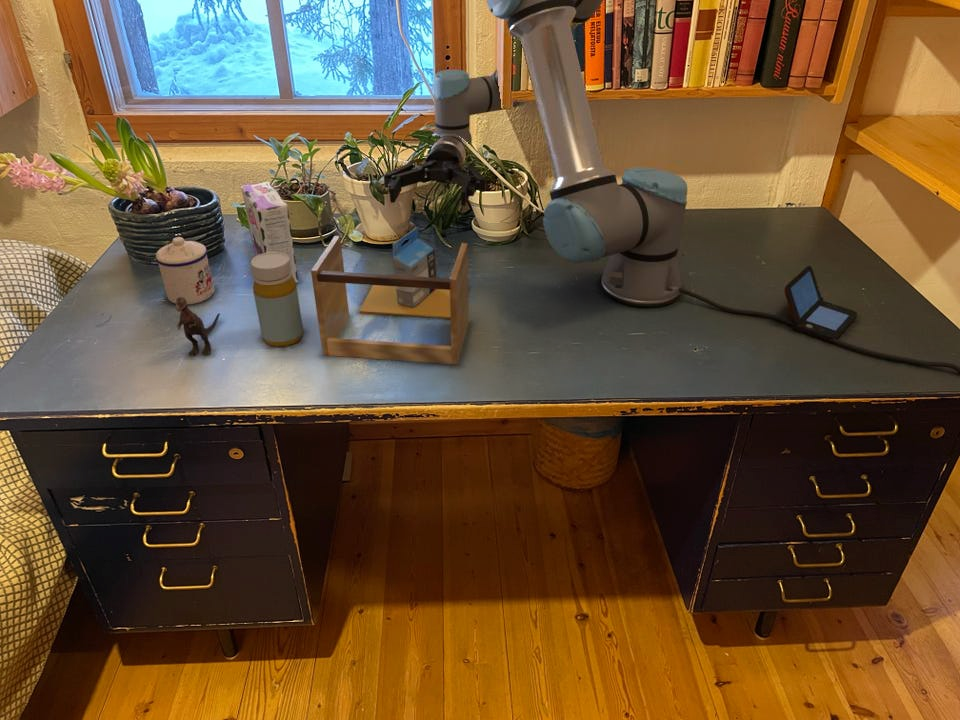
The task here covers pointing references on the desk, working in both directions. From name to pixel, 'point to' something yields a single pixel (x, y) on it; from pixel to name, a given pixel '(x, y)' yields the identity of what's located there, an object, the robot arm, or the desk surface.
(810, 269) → the handheld console
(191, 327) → the dinosaur model
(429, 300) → the felt pad
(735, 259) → the desk surface
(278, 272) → the bottle
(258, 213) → the candy box
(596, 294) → the desk surface
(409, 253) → the label tape box
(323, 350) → the frame
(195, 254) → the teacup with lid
